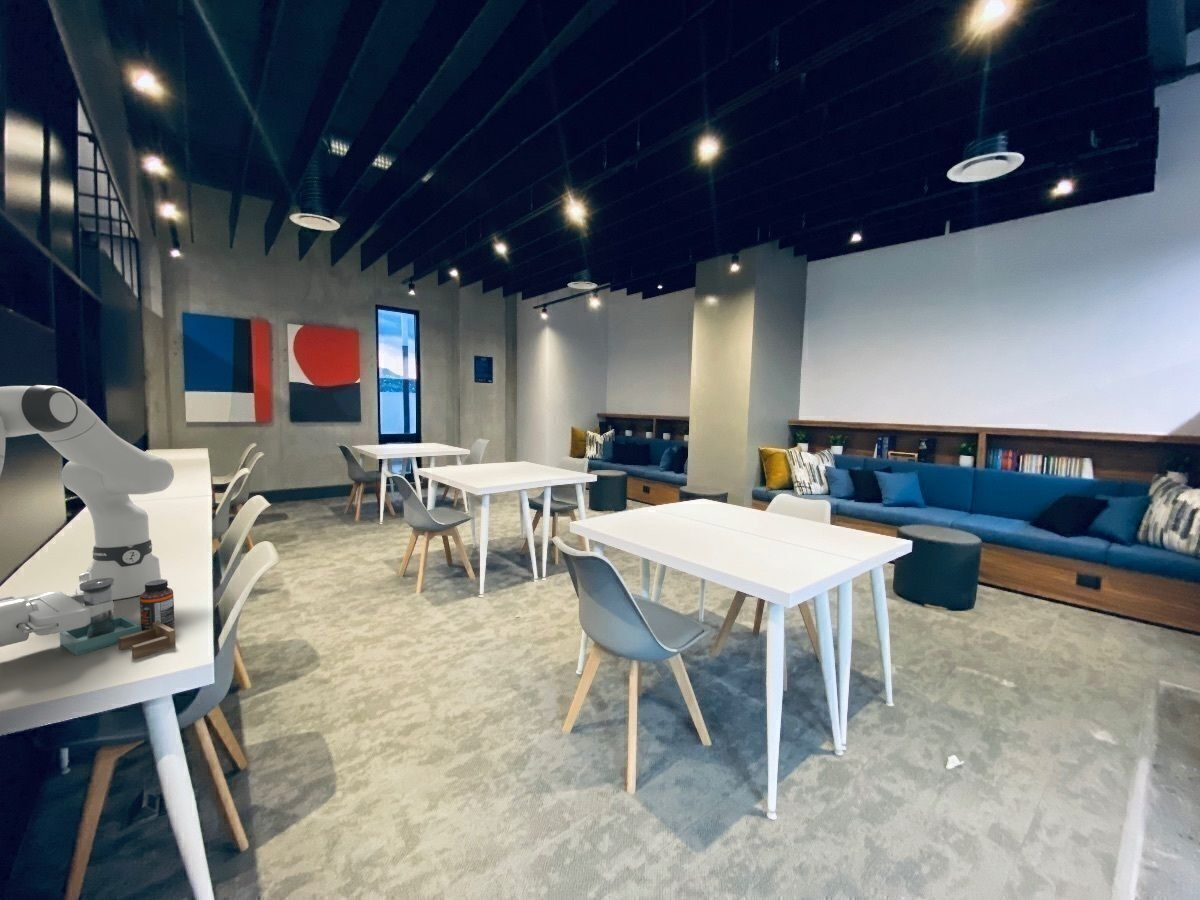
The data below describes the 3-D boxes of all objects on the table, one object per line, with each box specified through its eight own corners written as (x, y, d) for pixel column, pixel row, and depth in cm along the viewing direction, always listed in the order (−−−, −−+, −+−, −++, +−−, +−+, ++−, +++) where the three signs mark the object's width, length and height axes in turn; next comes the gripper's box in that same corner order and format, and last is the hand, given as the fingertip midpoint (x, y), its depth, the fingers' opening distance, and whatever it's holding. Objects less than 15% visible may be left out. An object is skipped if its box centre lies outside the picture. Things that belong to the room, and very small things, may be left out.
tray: (60, 643, 110) (59, 631, 110) (124, 626, 119) (123, 615, 119) (76, 655, 104) (75, 643, 104) (141, 636, 114) (141, 625, 113)
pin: (80, 638, 111) (75, 583, 110) (113, 628, 115) (109, 576, 114) (88, 644, 108) (84, 588, 107) (122, 634, 113) (117, 580, 111)
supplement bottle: (135, 631, 116) (132, 584, 115) (165, 621, 122) (163, 576, 121) (150, 635, 114) (148, 587, 113) (180, 625, 120) (178, 579, 119)
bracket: (118, 648, 108) (118, 632, 108) (158, 636, 114) (158, 621, 113) (134, 658, 103) (134, 642, 103) (175, 646, 109) (174, 630, 109)
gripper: (24, 617, 95) (121, 595, 106) (-3, 596, 105) (89, 578, 117) (26, 649, 95) (123, 624, 107) (-1, 625, 105) (90, 605, 117)
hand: (105, 600), depth 112 cm, fingers open, 8 cm apart
